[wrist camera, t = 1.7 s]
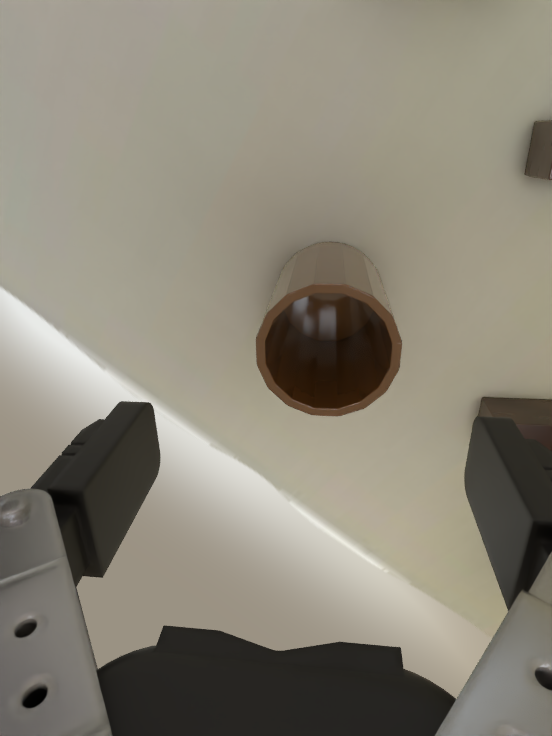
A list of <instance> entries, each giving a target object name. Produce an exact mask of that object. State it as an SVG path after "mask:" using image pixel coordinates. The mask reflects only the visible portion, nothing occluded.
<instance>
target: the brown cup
mask: <svg viewBox="0 0 552 736" xmlns="http://www.w3.org/2000/svg"><path fill="white" fill-rule="evenodd" d="M401 349H402V340H401V337H400V334H399V332H398V329H397V326H396V323H395V320H394V317H393V314H392V311H391V308H390V305H389V302H388V300H387V297H386V294H385V291H384V288H383V285H382V282H381V279H380V276H379V273H378V271H377V269H376V267H375V266H374V264H373V263H372V262H371V260H370V259H369V258H368V257H367V256H366V255H365V254H364V253H362V252H361V251H359V250H358V249H356V248H354V247H352V246H349V245H347V244H343V243H338V242H322V243H317V244H314V245H311V246H308V247H306V248H304V249H302V250H301V251H299V252H298V253H296V254H295V255H294V256H293V257H292V258H291V259H290V260H289V261H288V262H287V264H286V265H285V266H284V268H283V269H282V272H281V274H280V277H279V279H278V282H277V284H276V287H275V289H274V292H273V295H272V297H271V300H270V302H269V305H268V308H267V310H266V313H265V316H264V318H263V321H262V324H261V326H260V329H259V332H258V334H257V337H256V358H257V366H258V368H259V370H260V372H261V374H262V377H263V379H264V381H265V383H266V385H267V387H268V388H269V389H270V390H271V391H272V392H273V393H274V394H275V395H276V396H278V397H279V398H280V399H281V400H282V401H283V402H284V403H285V404H286V405H288V406H290V407H293V408H295V409H298V410H300V411H303V412H305V413H308V414H310V415H319V416H342V415H345V414H348V413H351V412H355V411H358V410H361V409H364V408H366V407H367V406H368V405H370V404H371V403H372V402H374V401H375V400H376V399H378V398H379V397H380V396H381V395H383V394H384V393H385V392H386V391H387V389H388V388H389V386H390V384H391V383H392V381H393V379H394V377H395V376H396V374H397V372H398V370H399V368H400V359H401Z"/></svg>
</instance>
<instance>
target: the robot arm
mask: <svg viewBox="0 0 552 736" xmlns="http://www.w3.org/2000/svg"><path fill="white" fill-rule="evenodd" d="M159 467H160V449H159V442H158V435H157V428H156V422H155V415H154V409H153V406H152V405H151V403H149V402H123V401H122V402H119V403H118V404H117V406H116V407H115V408H114V409H113V410H112V411H111V413H110V414H109V415H108V416H107V417H106V419H105V420H103V419H102V420H101V419H99V420H97V421H96V422H94V423H92V424H91V425H89V426H88V427H86V428H84V429H83V430H81V432H80V433H79V434H78V435H77V436H76V437H75V438H74V440H73V441H72V442H71V445H68V446H67V448H66V449H65V450H64V451H63V452H62V455H61V456H59V457H58V458H57V459H56V460H55V461H54V462H53V463H52V465H51V466H50V467H49V468H48V469H47V470H46V472H44V474H43V475H42V476H41V477H40V478H39V479H38V480H37V481H36V483H35V484H34V485H33V486H32V487H31V488H30V489H22V490H17V491H14V492H10V493H8V494H5V495H2V496H0V736H552V451H550V450H549V449H548V448H546V447H545V446H544V445H542V444H541V443H539V442H538V441H537V440H535V439H525V438H524V437H523V435H522V433H521V432H520V430H519V429H518V427H517V425H516V424H515V422H514V421H513V419H512V418H510V417H486V416H477V417H476V418H475V420H474V423H473V427H472V433H471V439H470V444H469V450H468V456H467V461H466V467H465V490H466V495H467V498H468V501H469V504H470V506H471V509H472V512H473V515H474V517H475V520H476V523H477V526H478V528H479V531H480V534H481V537H482V540H483V542H484V545H485V548H486V551H487V553H488V556H489V559H490V562H491V564H492V567H493V570H494V573H495V575H496V578H497V581H498V584H499V587H500V589H501V592H502V595H503V598H504V600H505V603H506V606H507V609H508V613H507V615H506V616H505V618H504V620H503V622H502V623H501V625H500V627H499V628H498V630H497V632H496V633H495V635H494V637H493V638H492V640H491V642H490V643H489V645H488V647H487V648H486V650H485V652H484V654H483V655H482V657H481V659H480V660H479V662H478V664H477V665H476V667H475V669H474V670H473V672H472V674H471V675H470V677H469V679H468V681H467V682H466V684H465V686H464V687H463V689H462V691H461V692H460V694H459V696H458V697H457V699H456V698H454V697H453V696H452V695H450V694H449V693H448V692H446V691H445V690H444V689H442V688H441V687H439V686H437V685H436V684H434V683H433V682H431V681H430V680H427V679H426V678H424V677H422V676H419V675H418V674H415V673H413V672H411V671H408V670H405V669H403V662H402V654H401V648H400V647H389V646H378V645H368V644H367V645H366V644H357V643H346V642H336V643H330V644H323V645H317V646H311V647H304V648H297V649H291V650H285V651H275V650H271V649H268V648H266V647H263V646H260V645H257V644H255V643H252V642H249V641H246V640H244V639H241V638H238V637H235V636H233V635H230V634H227V633H224V632H222V631H217V630H206V629H195V628H185V627H173V626H163V629H162V632H161V634H160V637H159V640H158V643H157V645H156V646H150V647H147V648H143V649H139V650H136V651H133V652H131V653H128V654H126V655H123V656H121V657H119V658H117V659H115V660H113V661H111V662H109V663H107V664H106V665H104V666H103V667H101V668H99V669H98V668H97V665H96V661H95V658H94V653H93V650H92V646H91V642H90V638H89V635H88V630H87V626H86V623H85V619H84V615H83V611H82V608H81V604H80V600H79V596H78V592H77V589H76V586H77V585H78V583H79V581H80V579H81V578H82V576H90V577H103V576H104V574H105V572H106V570H107V568H108V567H109V565H110V563H111V561H112V559H113V557H114V555H115V554H116V552H117V550H118V548H119V546H120V544H121V542H122V540H123V539H124V537H125V535H126V533H127V531H128V529H129V528H130V526H131V524H132V522H133V520H134V518H135V516H136V515H137V513H138V511H139V509H140V507H141V505H142V503H143V501H144V500H145V498H146V496H147V494H148V492H149V490H150V488H151V487H152V485H153V483H154V481H155V479H156V477H157V475H158V471H159Z"/></svg>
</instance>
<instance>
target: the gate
mask: <svg viewBox="0 0 552 736" xmlns="http://www.w3.org/2000/svg"><path fill="white" fill-rule="evenodd" d="M525 175H527V176H532V177H537V178H542V179H547V180H552V120H547V121H536V122H535V124H534V129H533V135H532V140H531V145H530V150H529V155H528V161H527V166H526V171H525ZM479 416H486V417H510V418H512V419H513V421H514V422H515V424H516V425H517V427H518V429H519V430H520V432H521V433H522V435H523V437H524V438H525V439H535V440H537V441H538V442H539V443H541V444H542V445H544V446H545V447H546V448H548V449H549V450H550V451H552V400H537V399H509V398H482V401H481V407H480V412H479Z"/></svg>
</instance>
